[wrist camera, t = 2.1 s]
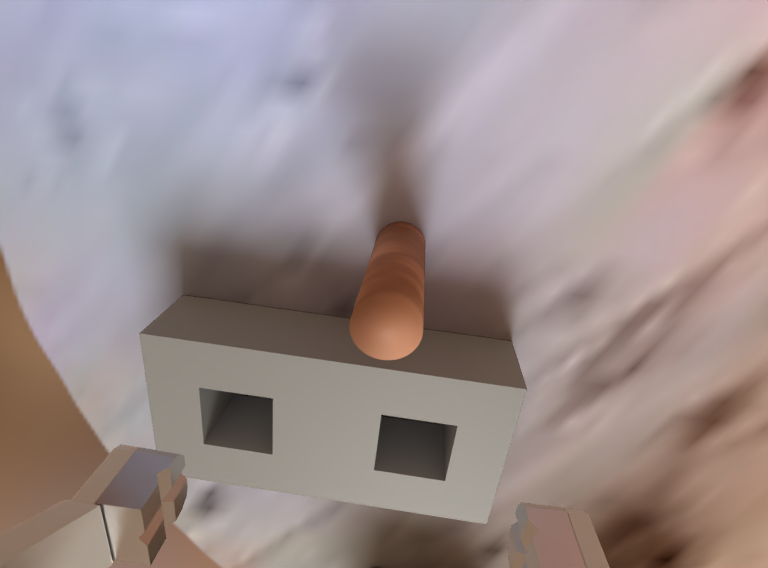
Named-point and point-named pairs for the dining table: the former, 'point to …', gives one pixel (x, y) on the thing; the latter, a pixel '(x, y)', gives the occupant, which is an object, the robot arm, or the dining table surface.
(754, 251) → the dining table surface
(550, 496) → the dining table surface
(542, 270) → the dining table surface
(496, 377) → the hole block
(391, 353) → the peg
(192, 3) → the dining table surface
